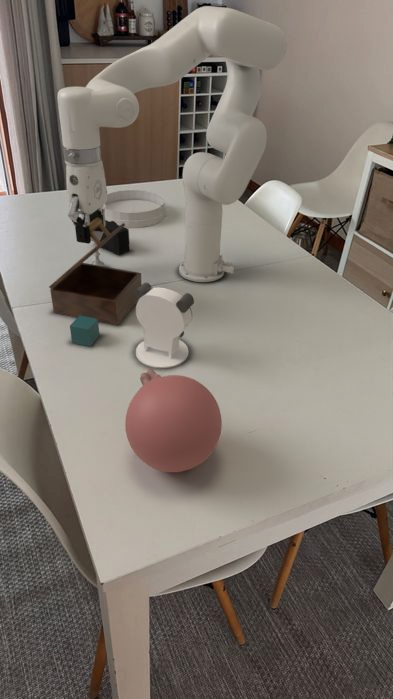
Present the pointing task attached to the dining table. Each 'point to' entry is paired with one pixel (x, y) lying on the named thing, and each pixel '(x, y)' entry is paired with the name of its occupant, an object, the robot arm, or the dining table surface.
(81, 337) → the block
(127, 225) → the dish
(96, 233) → the chalice
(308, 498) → the dining table surface
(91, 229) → the box lid
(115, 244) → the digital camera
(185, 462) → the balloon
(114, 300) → the box
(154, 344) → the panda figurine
